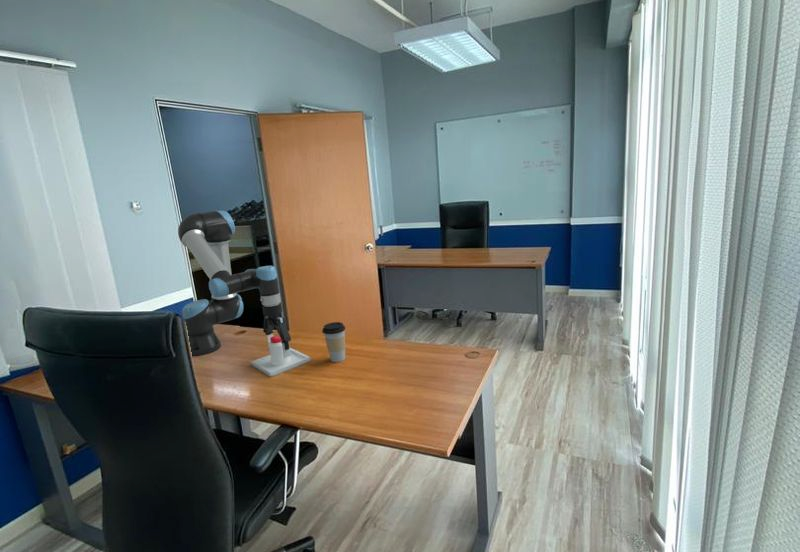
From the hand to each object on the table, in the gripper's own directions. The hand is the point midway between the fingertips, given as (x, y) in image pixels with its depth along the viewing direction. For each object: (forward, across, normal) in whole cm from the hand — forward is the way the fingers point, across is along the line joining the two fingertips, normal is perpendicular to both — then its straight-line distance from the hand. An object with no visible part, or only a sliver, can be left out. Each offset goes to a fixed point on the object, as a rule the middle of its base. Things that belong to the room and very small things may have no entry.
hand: (279, 352), depth 177 cm
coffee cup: (+5, +17, +17) cm, 25 cm away
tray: (+5, 0, 0) cm, 5 cm away
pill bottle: (+4, 0, 0) cm, 4 cm away
